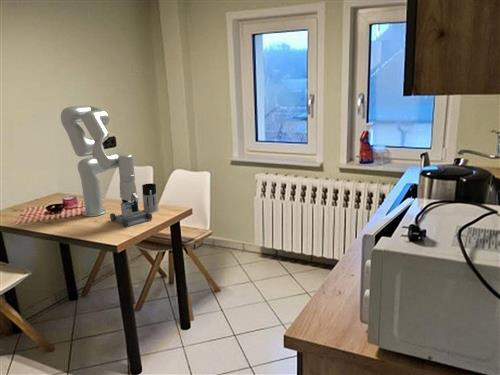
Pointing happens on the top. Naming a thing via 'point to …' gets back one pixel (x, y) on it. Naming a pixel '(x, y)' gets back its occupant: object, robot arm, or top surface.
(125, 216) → the medicine box
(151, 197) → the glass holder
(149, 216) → the chassis
